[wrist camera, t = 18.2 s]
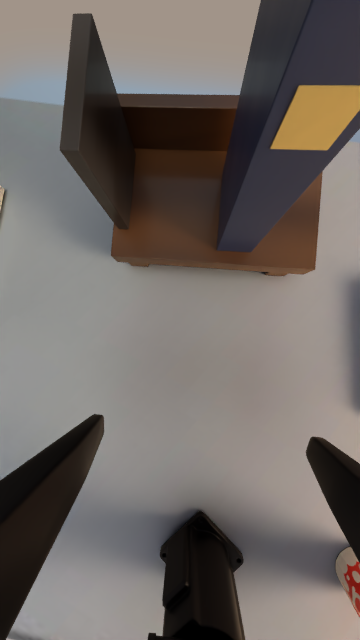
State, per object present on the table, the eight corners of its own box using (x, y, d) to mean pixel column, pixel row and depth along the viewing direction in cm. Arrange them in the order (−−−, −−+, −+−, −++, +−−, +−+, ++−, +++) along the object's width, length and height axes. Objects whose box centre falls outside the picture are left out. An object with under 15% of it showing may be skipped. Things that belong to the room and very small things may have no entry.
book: (251, 253, 15) (613, -155, 2) (216, 251, 15) (365, -139, 2) (256, 173, 15) (634, -659, 2) (222, 172, 15) (396, -611, 2)
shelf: (287, 281, 18) (436, 218, 7) (126, 269, 19) (44, 199, 8) (295, 182, 18) (452, -26, 7) (135, 175, 19) (66, -16, 8)
